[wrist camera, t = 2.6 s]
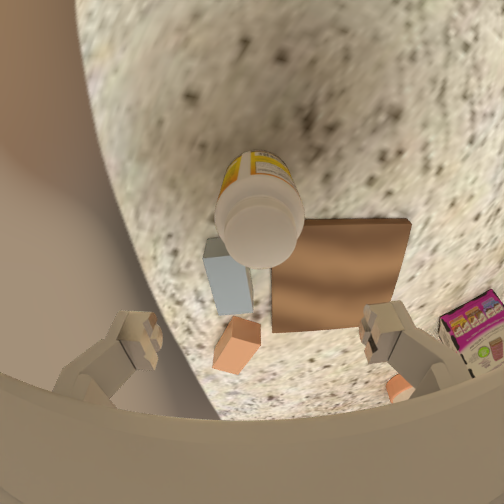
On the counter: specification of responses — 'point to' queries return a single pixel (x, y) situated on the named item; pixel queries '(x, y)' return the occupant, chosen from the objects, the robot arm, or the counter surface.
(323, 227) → the board
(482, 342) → the candy bar box
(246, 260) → the supplement bottle
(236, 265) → the brick blue
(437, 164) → the counter surface
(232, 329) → the brick terracotta
